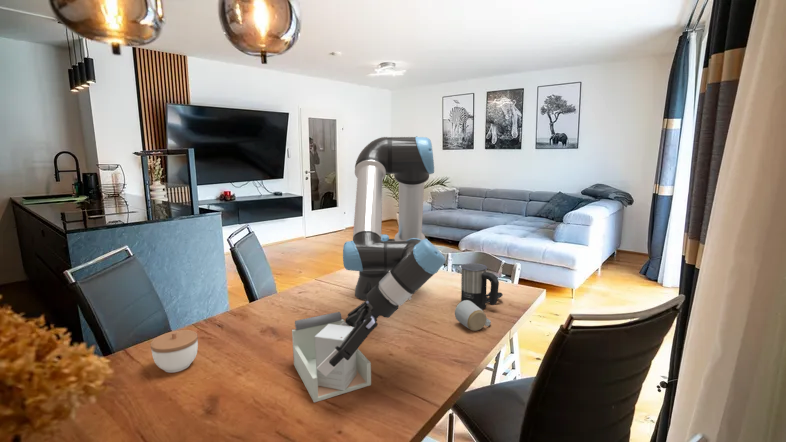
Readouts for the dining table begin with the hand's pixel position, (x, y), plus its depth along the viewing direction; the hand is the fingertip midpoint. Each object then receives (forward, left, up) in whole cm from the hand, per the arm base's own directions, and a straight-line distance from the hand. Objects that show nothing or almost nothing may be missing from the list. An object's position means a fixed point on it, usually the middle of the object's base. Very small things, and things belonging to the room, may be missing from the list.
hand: (326, 356), depth 93 cm
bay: (-3, +2, -7) cm, 8 cm away
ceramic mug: (-8, +52, -7) cm, 53 cm away
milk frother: (-22, +66, -7) cm, 70 cm away
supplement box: (+1, +2, -7) cm, 7 cm away
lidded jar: (-26, -32, -7) cm, 42 cm away
